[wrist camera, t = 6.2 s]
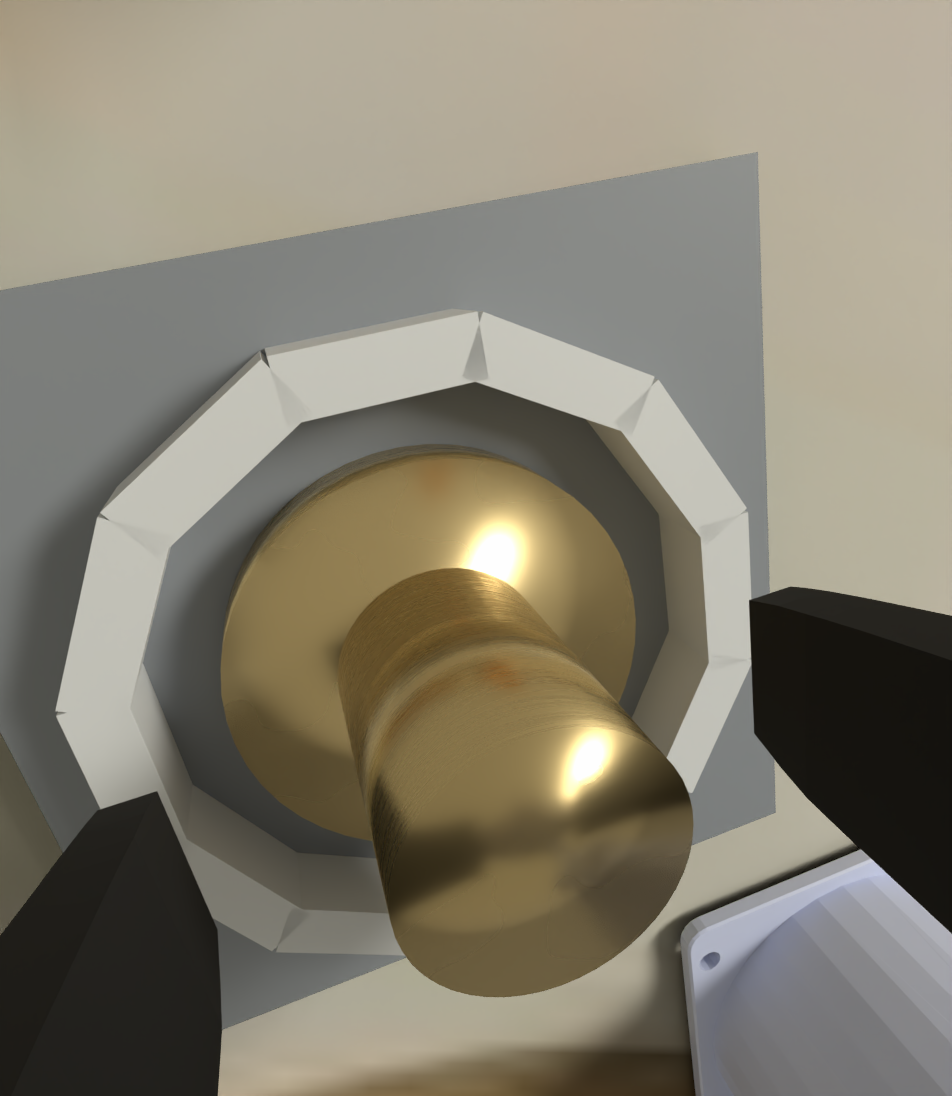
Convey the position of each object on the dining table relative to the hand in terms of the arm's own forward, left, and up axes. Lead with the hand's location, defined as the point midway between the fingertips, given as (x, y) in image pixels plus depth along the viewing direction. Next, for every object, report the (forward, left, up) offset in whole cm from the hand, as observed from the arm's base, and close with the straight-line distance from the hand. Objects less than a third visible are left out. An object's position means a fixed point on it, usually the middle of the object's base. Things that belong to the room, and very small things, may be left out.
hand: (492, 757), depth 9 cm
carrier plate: (0, 0, -4) cm, 4 cm away
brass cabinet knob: (0, 0, -3) cm, 3 cm away
